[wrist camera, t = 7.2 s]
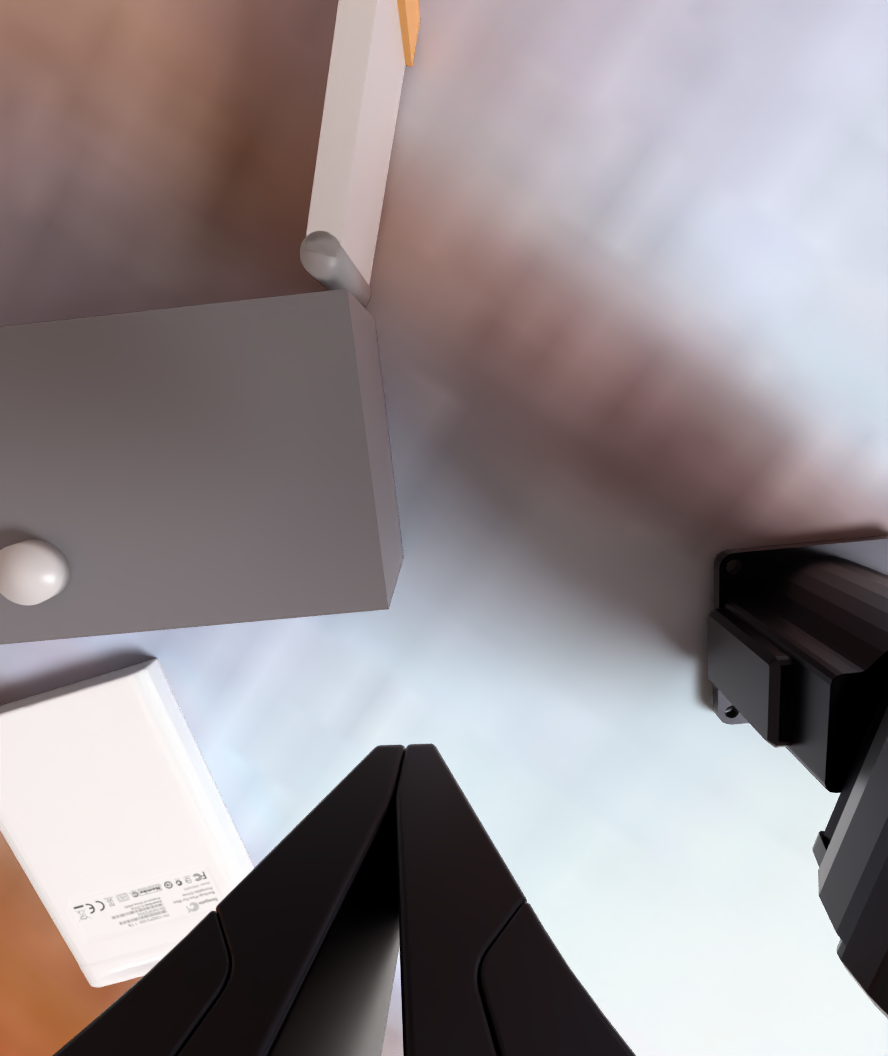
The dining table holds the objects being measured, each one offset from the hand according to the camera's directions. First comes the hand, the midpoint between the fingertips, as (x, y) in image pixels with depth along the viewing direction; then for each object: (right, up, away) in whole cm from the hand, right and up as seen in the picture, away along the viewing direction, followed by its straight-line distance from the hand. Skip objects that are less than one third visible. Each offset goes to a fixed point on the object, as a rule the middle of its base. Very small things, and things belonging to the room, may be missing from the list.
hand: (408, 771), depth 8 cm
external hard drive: (-12, -8, +15) cm, 21 cm away
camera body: (-7, +6, +11) cm, 14 cm away
